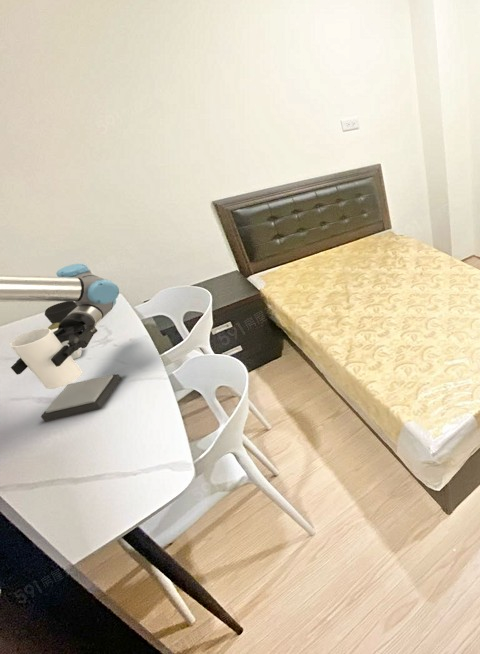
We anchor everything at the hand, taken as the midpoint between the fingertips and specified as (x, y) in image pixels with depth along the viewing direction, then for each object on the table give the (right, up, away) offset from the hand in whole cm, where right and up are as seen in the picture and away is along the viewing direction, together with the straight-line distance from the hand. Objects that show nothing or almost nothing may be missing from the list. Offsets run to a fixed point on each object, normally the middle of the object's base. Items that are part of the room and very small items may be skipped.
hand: (35, 366), depth 111 cm
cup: (-1, -6, +8) cm, 10 cm away
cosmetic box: (-28, -5, +35) cm, 45 cm away
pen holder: (-45, +4, +52) cm, 69 cm away
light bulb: (-36, -1, +42) cm, 55 cm away
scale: (-3, -14, +16) cm, 22 cm away
